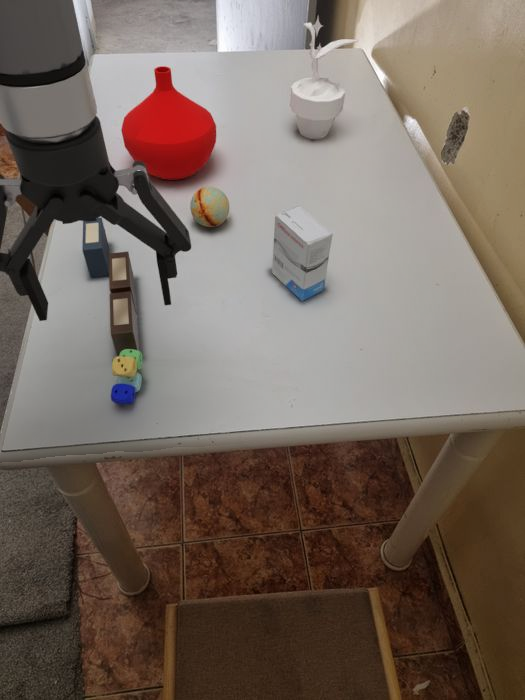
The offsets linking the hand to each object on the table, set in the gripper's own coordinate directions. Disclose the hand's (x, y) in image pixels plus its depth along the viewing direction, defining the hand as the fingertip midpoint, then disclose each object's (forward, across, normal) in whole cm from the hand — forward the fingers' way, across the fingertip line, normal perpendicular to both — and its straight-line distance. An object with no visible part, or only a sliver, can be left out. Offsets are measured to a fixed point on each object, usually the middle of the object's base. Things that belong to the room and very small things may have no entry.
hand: (106, 304), depth 58 cm
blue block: (+17, +4, -37) cm, 41 cm away
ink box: (+17, -28, -17) cm, 37 cm away
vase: (+17, -11, -55) cm, 59 cm away
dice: (+17, 0, 0) cm, 17 cm away
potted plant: (+17, -44, -64) cm, 80 cm away
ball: (+17, -16, -35) cm, 42 cm away
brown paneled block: (+17, 0, -14) cm, 22 cm away
